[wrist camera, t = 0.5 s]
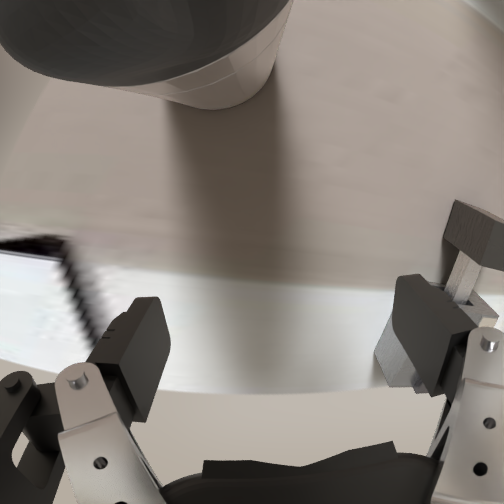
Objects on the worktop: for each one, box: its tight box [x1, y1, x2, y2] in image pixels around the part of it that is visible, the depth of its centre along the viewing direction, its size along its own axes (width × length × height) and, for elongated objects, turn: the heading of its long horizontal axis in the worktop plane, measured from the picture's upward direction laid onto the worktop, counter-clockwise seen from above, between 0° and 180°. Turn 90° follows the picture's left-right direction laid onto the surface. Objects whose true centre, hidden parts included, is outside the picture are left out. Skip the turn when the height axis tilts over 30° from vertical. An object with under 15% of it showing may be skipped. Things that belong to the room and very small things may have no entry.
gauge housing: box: [374, 282, 499, 394], centre depth 28 cm, size 10×10×7 cm
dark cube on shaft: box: [443, 200, 504, 305], centre depth 25 cm, size 12×5×8 cm, turn 170°
